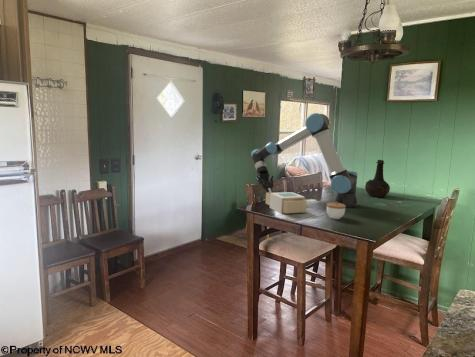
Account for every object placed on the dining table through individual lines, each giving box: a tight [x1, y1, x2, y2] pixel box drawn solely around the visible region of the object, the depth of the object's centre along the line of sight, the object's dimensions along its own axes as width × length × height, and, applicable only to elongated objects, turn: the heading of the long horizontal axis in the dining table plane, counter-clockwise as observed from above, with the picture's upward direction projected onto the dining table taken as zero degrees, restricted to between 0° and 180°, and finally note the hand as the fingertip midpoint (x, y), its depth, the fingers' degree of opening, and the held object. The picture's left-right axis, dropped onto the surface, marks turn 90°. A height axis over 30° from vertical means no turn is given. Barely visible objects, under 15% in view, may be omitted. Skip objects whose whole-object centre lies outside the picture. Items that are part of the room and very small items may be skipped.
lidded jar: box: [326, 202, 347, 220], centre depth 210 cm, size 11×11×9 cm
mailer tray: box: [265, 191, 308, 214], centre depth 225 cm, size 26×14×7 cm, turn 23°
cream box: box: [269, 191, 306, 214], centre depth 223 cm, size 14×16×10 cm
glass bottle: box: [364, 159, 391, 198], centre depth 277 cm, size 18×18×28 cm
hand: (271, 197), depth 241 cm, fingers closed
